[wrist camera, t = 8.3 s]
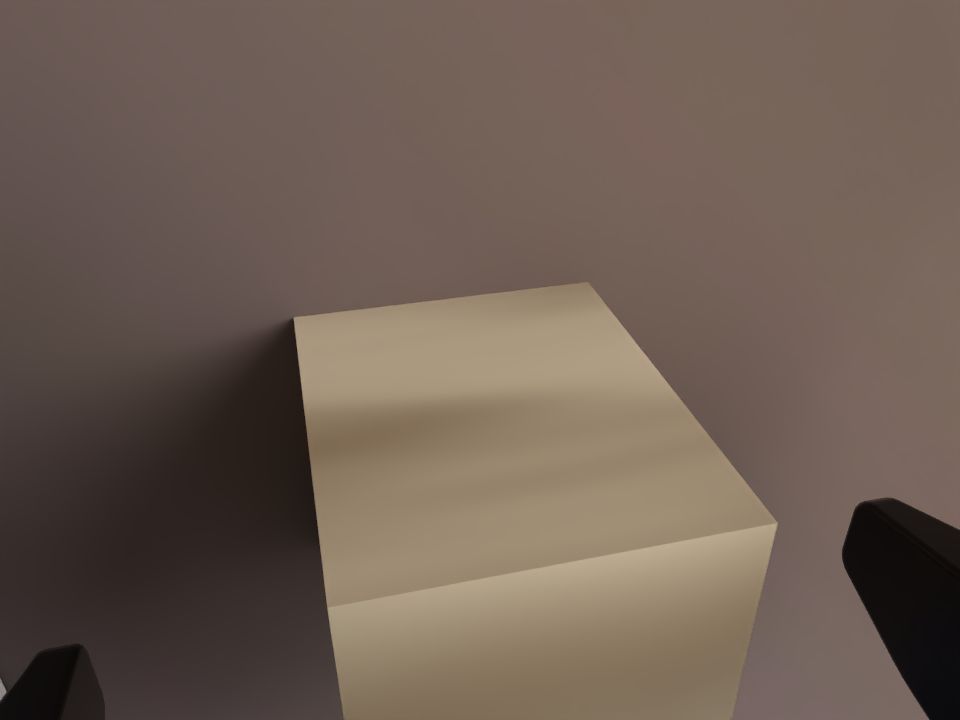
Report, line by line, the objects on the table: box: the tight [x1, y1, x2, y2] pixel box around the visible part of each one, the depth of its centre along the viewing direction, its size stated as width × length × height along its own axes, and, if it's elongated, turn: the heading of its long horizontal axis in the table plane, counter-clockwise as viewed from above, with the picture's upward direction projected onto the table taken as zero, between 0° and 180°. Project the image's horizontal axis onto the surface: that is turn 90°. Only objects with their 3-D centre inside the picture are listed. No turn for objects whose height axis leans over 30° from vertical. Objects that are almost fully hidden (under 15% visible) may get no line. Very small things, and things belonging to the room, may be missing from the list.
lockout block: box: [294, 282, 778, 720], centre depth 10 cm, size 4×4×5 cm
